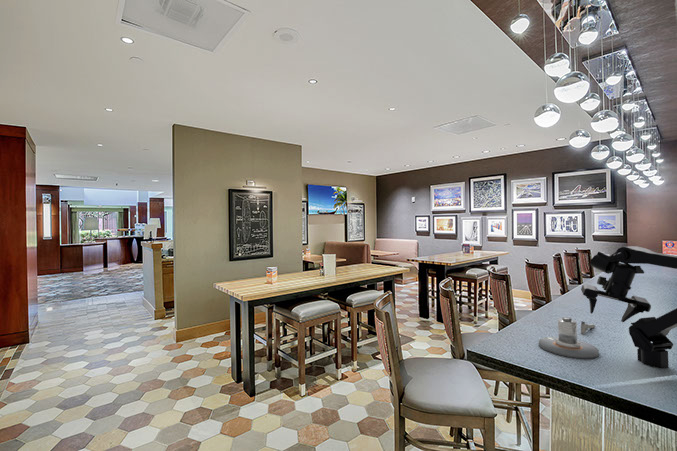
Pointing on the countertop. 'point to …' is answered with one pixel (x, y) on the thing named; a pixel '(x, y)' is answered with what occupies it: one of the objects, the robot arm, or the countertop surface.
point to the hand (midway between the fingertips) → (606, 317)
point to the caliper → (585, 327)
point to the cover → (567, 334)
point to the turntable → (583, 352)
